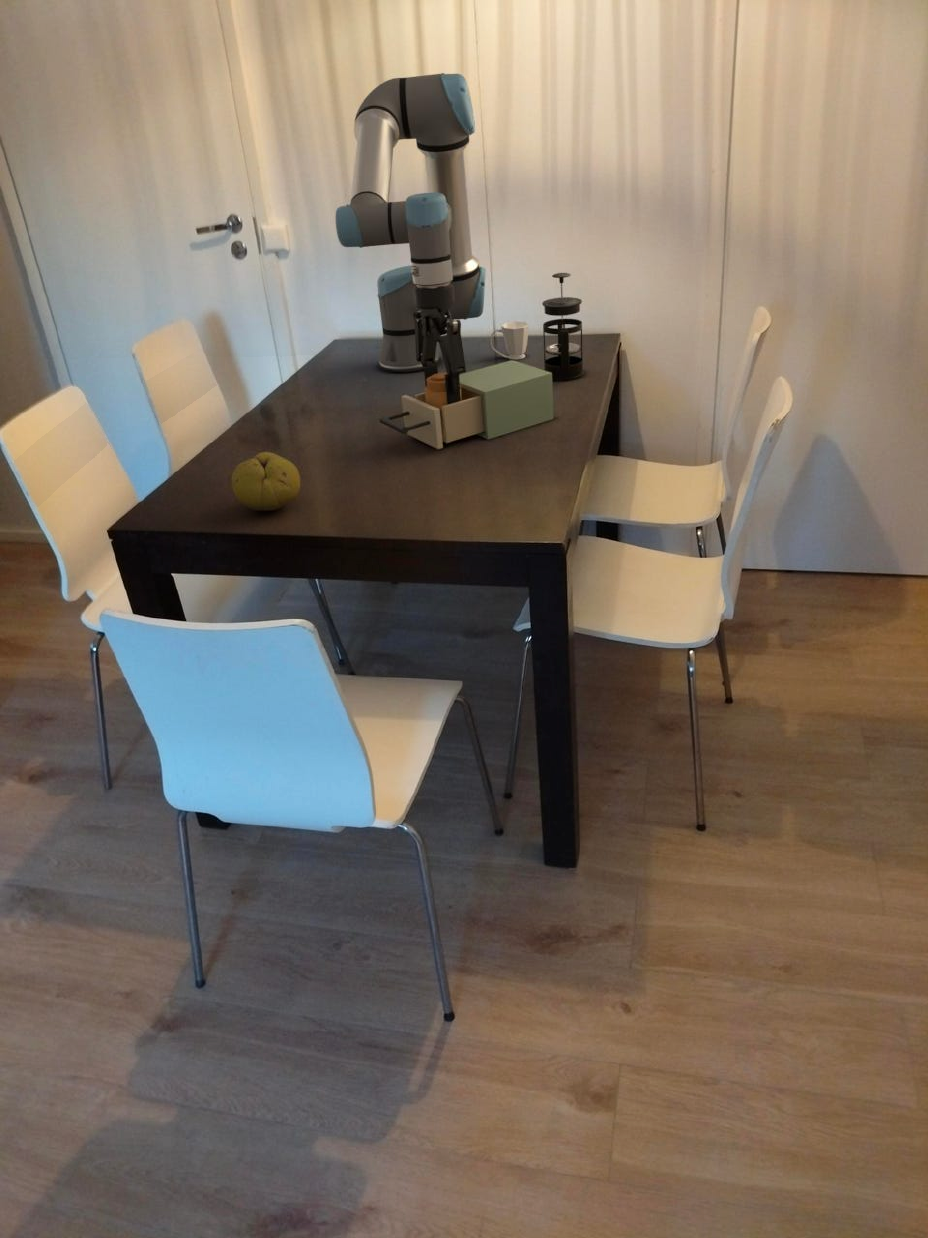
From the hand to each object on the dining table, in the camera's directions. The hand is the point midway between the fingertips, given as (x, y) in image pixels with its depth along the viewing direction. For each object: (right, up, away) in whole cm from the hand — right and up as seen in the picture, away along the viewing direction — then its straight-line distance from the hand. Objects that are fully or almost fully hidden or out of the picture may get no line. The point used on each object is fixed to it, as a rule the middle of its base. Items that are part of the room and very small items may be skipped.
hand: (443, 402), depth 187 cm
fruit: (-30, -24, -20) cm, 43 cm away
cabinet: (+12, -2, +10) cm, 16 cm away
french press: (+28, +14, +34) cm, 46 cm away
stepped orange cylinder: (0, 0, 0) cm, 0 cm away
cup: (+16, +23, +50) cm, 58 cm away
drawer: (-1, -6, +3) cm, 7 cm away
